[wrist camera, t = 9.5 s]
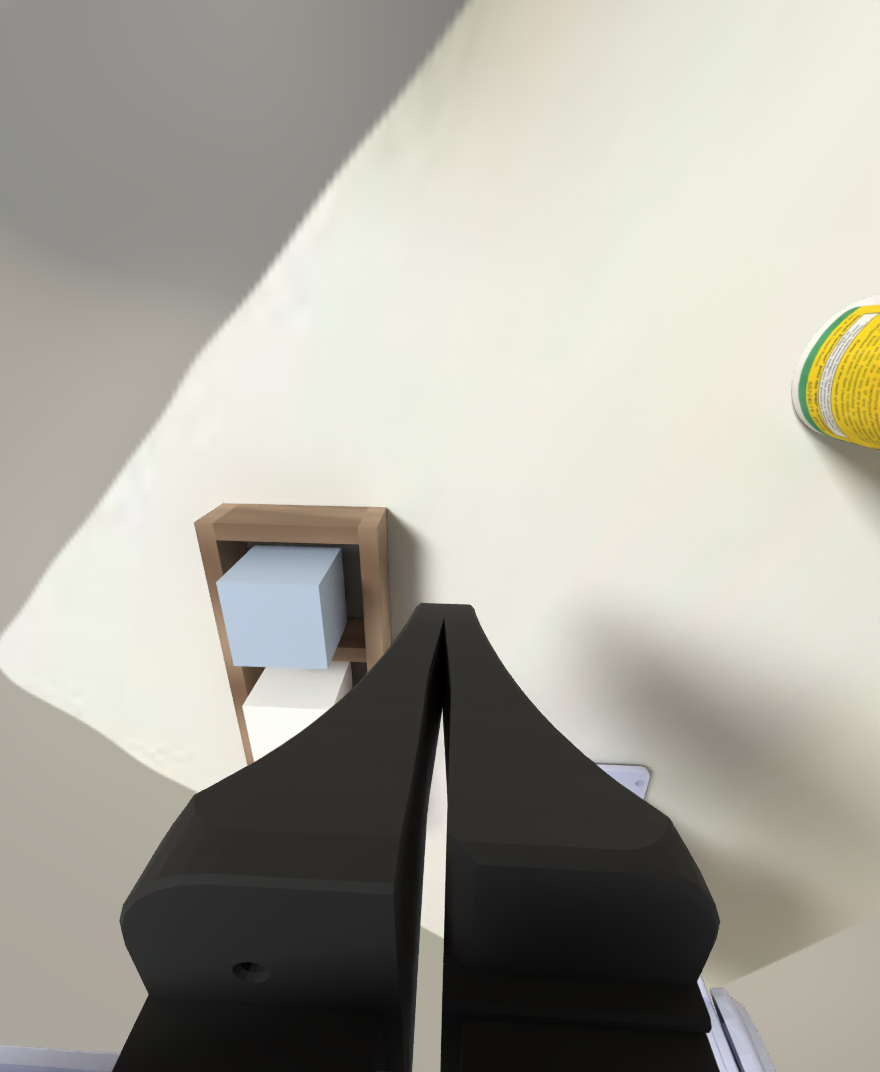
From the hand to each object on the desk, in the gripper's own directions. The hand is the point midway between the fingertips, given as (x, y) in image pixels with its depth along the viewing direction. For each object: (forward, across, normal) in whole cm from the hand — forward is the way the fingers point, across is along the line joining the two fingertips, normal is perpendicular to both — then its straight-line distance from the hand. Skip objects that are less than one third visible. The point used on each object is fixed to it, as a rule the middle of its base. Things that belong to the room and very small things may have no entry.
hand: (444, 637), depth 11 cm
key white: (+9, +7, +10) cm, 15 cm away
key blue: (+9, +7, +4) cm, 12 cm away
